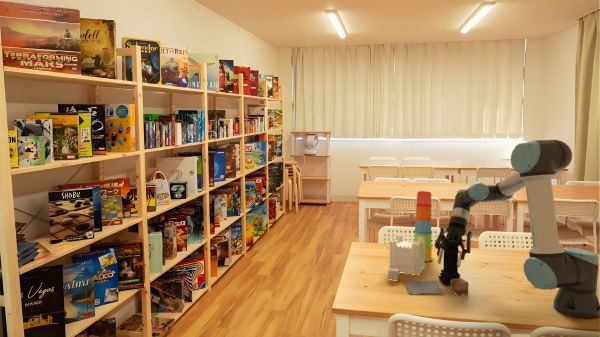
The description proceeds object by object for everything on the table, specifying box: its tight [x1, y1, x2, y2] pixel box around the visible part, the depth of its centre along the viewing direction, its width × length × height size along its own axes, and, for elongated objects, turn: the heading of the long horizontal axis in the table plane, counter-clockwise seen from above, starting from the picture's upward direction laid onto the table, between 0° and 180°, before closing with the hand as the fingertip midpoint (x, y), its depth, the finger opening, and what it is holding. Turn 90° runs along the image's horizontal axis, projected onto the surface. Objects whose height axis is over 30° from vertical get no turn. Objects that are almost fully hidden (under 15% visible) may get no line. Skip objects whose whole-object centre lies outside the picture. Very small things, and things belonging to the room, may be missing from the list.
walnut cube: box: [449, 277, 469, 296], centre depth 184 cm, size 5×5×5 cm
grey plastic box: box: [388, 265, 400, 281], centre depth 200 cm, size 6×4×5 cm, turn 161°
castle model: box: [389, 233, 426, 276], centre depth 212 cm, size 14×14×15 cm
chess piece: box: [437, 234, 463, 285], centre depth 194 cm, size 8×8×20 cm
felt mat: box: [403, 279, 445, 295], centre depth 190 cm, size 14×14×1 cm
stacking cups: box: [413, 190, 434, 262], centre depth 224 cm, size 10×10×35 cm
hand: (448, 264), depth 191 cm, fingers closed on chess piece, 8 cm apart
